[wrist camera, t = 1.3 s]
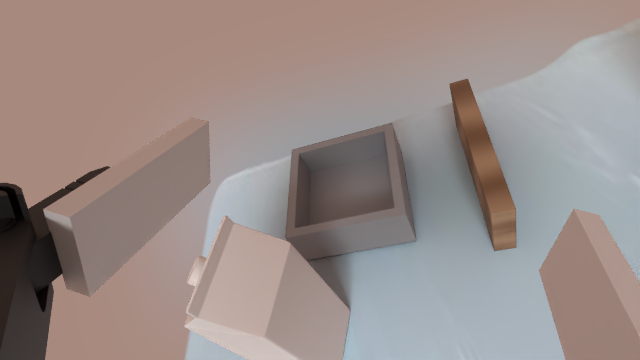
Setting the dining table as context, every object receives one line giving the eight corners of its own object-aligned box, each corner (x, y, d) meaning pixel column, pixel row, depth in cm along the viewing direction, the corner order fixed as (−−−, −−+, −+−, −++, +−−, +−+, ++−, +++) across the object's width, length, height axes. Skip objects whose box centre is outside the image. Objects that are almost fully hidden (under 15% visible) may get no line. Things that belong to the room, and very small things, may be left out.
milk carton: (351, 310, 41) (266, 214, 27) (338, 385, 37) (232, 317, 23) (291, 304, 44) (187, 215, 30) (273, 373, 40) (145, 307, 26)
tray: (308, 175, 54) (292, 149, 50) (401, 152, 51) (391, 122, 47) (305, 260, 46) (285, 238, 42) (416, 240, 42) (405, 214, 38)
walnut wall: (456, 125, 50) (449, 83, 45) (472, 121, 50) (467, 78, 45) (494, 250, 39) (490, 213, 34) (516, 247, 38) (515, 209, 33)
